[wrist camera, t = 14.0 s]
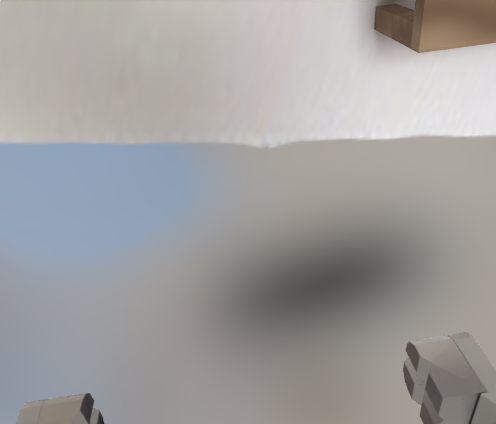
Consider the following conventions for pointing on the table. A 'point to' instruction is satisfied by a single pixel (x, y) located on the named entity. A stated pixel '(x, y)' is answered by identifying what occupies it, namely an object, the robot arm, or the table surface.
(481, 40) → the small wooden table
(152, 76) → the table surface
